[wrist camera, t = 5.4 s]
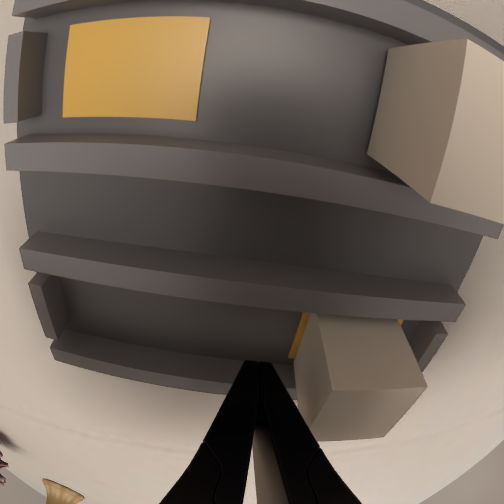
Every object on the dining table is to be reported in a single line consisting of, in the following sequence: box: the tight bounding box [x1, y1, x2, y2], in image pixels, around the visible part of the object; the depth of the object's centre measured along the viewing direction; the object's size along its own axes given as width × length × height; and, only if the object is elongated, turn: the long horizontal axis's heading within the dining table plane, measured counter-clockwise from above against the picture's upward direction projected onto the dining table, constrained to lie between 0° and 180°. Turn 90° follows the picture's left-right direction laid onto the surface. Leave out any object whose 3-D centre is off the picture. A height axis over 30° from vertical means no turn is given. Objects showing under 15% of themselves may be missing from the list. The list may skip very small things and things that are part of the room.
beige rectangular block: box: [367, 39, 504, 224], centre depth 6 cm, size 3×3×4 cm
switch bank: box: [4, 0, 504, 400], centre depth 9 cm, size 16×15×3 cm
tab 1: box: [293, 313, 428, 441], centre depth 10 cm, size 3×3×4 cm
